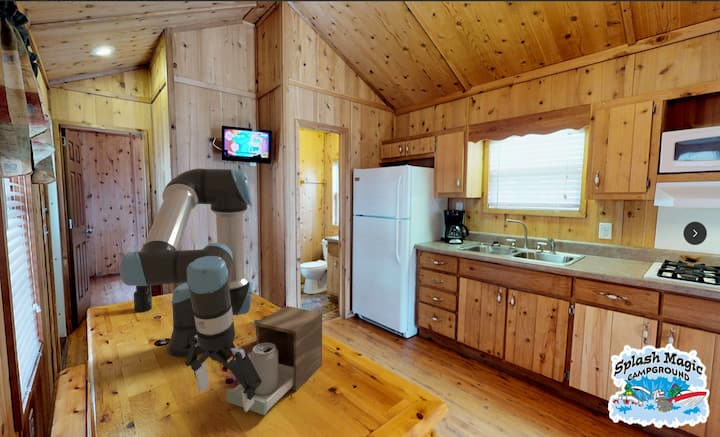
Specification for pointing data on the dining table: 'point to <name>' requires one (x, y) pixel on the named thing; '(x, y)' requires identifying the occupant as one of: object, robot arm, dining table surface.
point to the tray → (267, 401)
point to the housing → (294, 340)
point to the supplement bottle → (142, 299)
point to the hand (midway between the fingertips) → (226, 397)
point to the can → (265, 367)
